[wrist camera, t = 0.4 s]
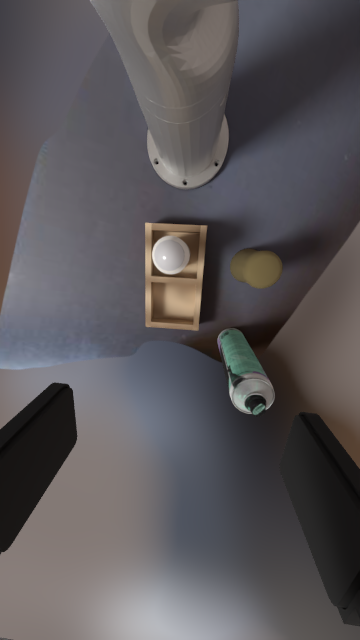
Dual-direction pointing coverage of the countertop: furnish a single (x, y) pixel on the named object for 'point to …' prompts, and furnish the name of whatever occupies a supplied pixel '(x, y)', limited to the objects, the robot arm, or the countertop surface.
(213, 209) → the countertop surface
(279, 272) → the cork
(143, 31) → the robot arm
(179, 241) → the salt shaker
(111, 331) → the countertop surface
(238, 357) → the spray can
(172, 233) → the caddy
